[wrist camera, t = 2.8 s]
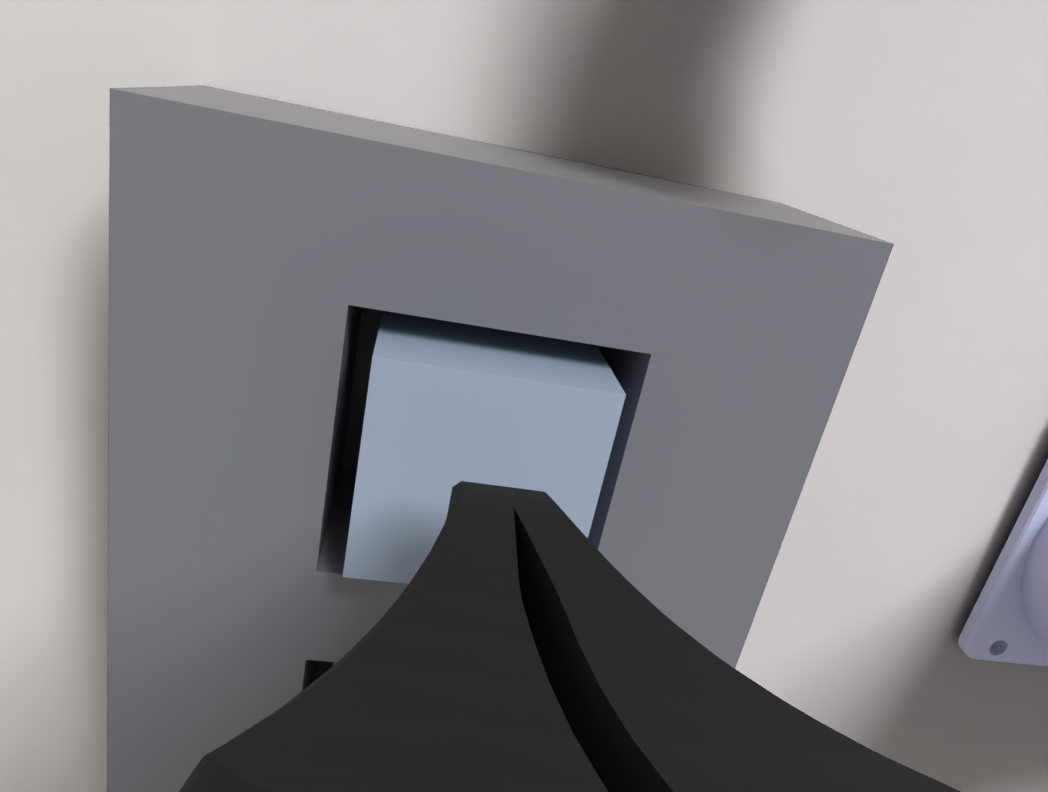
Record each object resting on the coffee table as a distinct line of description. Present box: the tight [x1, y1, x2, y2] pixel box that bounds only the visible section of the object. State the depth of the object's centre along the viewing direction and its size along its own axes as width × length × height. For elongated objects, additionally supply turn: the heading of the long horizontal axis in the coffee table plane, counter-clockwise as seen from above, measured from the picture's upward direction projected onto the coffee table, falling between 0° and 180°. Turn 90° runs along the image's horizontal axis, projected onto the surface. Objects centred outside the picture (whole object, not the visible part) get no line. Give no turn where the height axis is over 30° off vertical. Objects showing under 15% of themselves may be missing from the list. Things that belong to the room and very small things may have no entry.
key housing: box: [107, 86, 894, 792], centre depth 18 cm, size 12×24×4 cm, turn 169°
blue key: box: [343, 311, 626, 584], centre depth 14 cm, size 4×4×3 cm
